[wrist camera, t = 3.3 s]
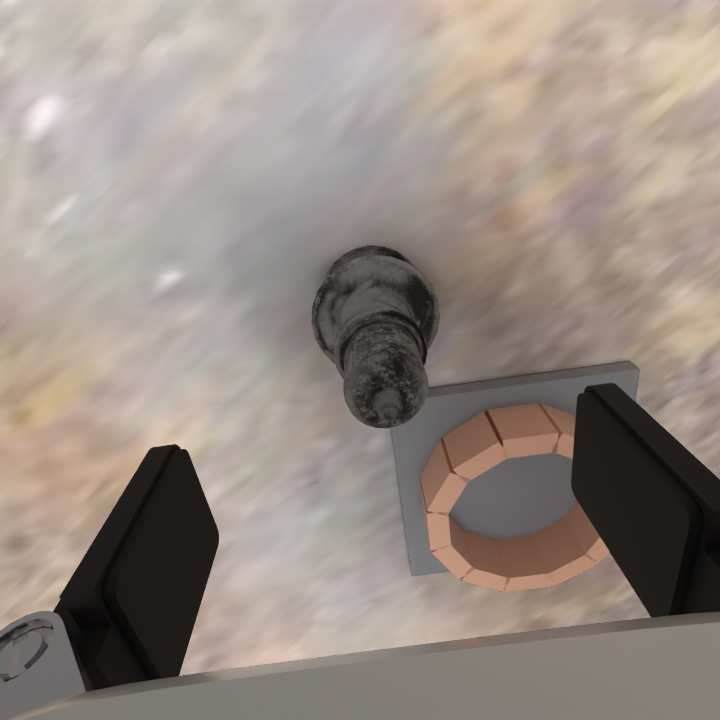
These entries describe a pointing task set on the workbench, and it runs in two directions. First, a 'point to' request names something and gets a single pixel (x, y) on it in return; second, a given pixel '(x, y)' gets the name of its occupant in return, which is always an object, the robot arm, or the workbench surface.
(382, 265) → the dark flared piece
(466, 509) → the shaker holder
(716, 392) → the workbench surface
